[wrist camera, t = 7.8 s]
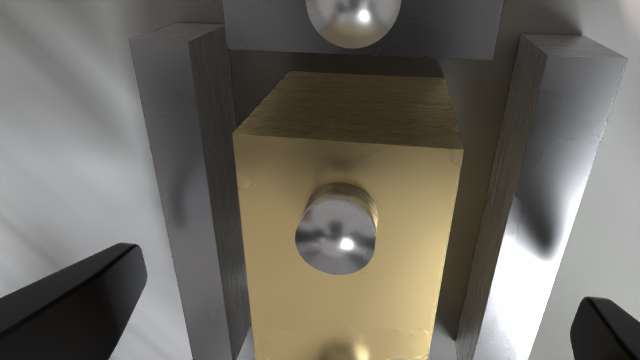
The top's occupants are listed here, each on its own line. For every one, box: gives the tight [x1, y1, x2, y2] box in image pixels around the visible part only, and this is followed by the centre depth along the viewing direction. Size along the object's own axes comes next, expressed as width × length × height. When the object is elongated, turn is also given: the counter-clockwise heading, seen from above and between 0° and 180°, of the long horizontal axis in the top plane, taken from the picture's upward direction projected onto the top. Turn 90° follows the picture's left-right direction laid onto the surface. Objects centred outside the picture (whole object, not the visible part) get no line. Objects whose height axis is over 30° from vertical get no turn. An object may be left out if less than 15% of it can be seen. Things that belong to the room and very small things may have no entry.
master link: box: [232, 71, 464, 360], centre depth 10 cm, size 7×4×5 cm, turn 0°
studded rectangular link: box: [129, 0, 628, 360], centre depth 10 cm, size 16×9×3 cm, turn 0°
